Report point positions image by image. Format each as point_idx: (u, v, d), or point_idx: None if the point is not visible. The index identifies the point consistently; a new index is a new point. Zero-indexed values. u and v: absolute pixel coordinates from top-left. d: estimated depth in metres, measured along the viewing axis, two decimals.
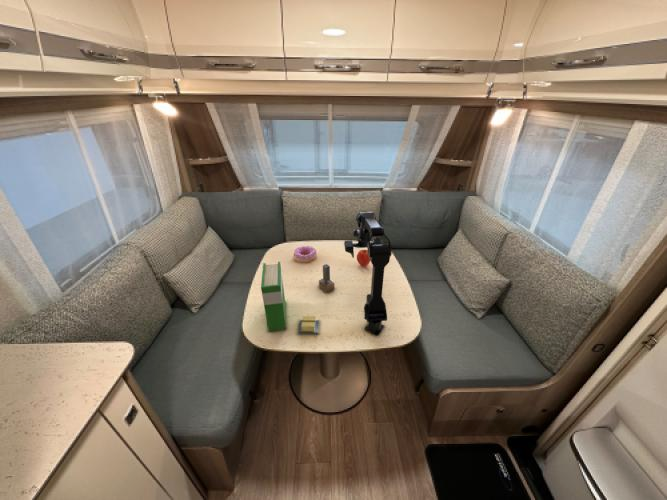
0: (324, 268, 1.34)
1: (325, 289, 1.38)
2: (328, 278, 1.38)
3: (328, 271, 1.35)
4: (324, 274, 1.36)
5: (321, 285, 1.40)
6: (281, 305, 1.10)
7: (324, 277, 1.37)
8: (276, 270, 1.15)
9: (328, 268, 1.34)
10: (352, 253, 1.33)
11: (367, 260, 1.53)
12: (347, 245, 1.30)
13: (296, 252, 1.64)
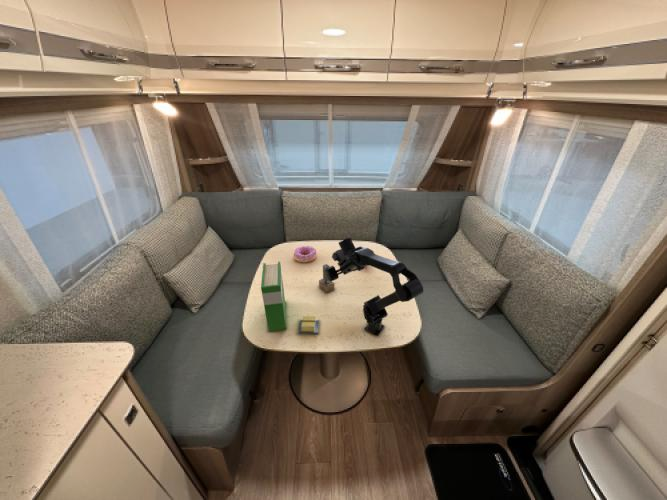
0: (324, 268, 1.34)
1: (325, 289, 1.38)
2: None
3: None
4: (324, 274, 1.36)
5: (321, 285, 1.40)
6: (281, 305, 1.10)
7: (324, 277, 1.37)
8: (276, 270, 1.15)
9: None
10: None
11: None
12: (332, 276, 1.17)
13: (296, 252, 1.64)
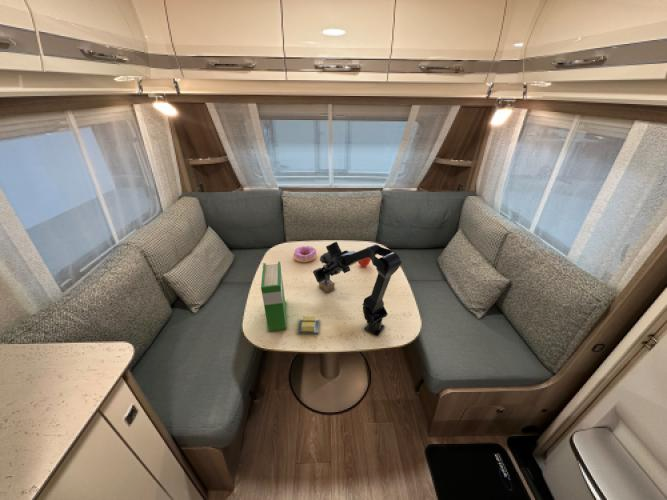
0: None
1: (325, 289, 1.38)
2: (328, 278, 1.38)
3: None
4: None
5: (321, 285, 1.40)
6: (281, 305, 1.10)
7: None
8: (276, 270, 1.15)
9: None
10: None
11: (367, 260, 1.53)
12: (320, 277, 1.25)
13: (296, 252, 1.64)
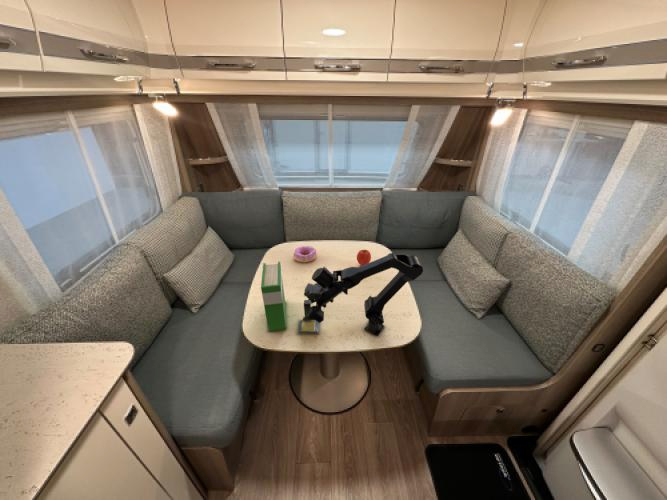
0: (307, 305, 1.09)
1: None
2: None
3: None
4: (307, 312, 1.11)
5: None
6: (281, 305, 1.10)
7: None
8: (276, 270, 1.15)
9: (310, 303, 1.11)
10: None
11: (367, 260, 1.53)
12: (322, 315, 1.03)
13: (296, 252, 1.64)
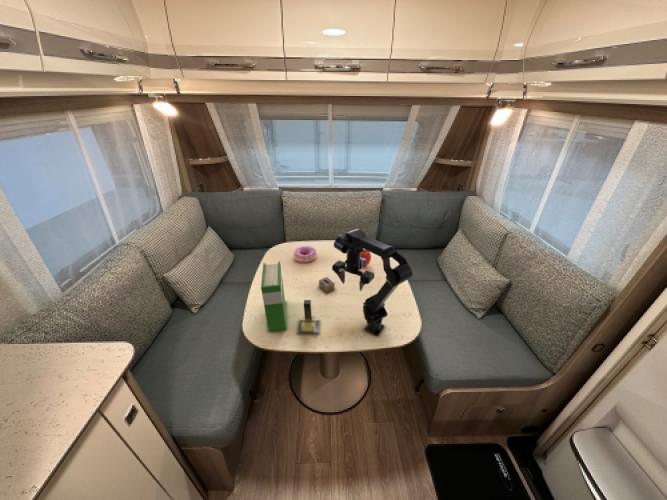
0: (307, 305, 1.09)
1: (325, 289, 1.38)
2: (311, 314, 1.14)
3: None
4: (307, 312, 1.11)
5: (321, 285, 1.40)
6: (281, 305, 1.10)
7: (307, 315, 1.12)
8: (276, 270, 1.15)
9: (310, 303, 1.11)
10: (338, 275, 1.19)
11: (367, 260, 1.53)
12: (335, 263, 1.19)
13: (296, 252, 1.64)
